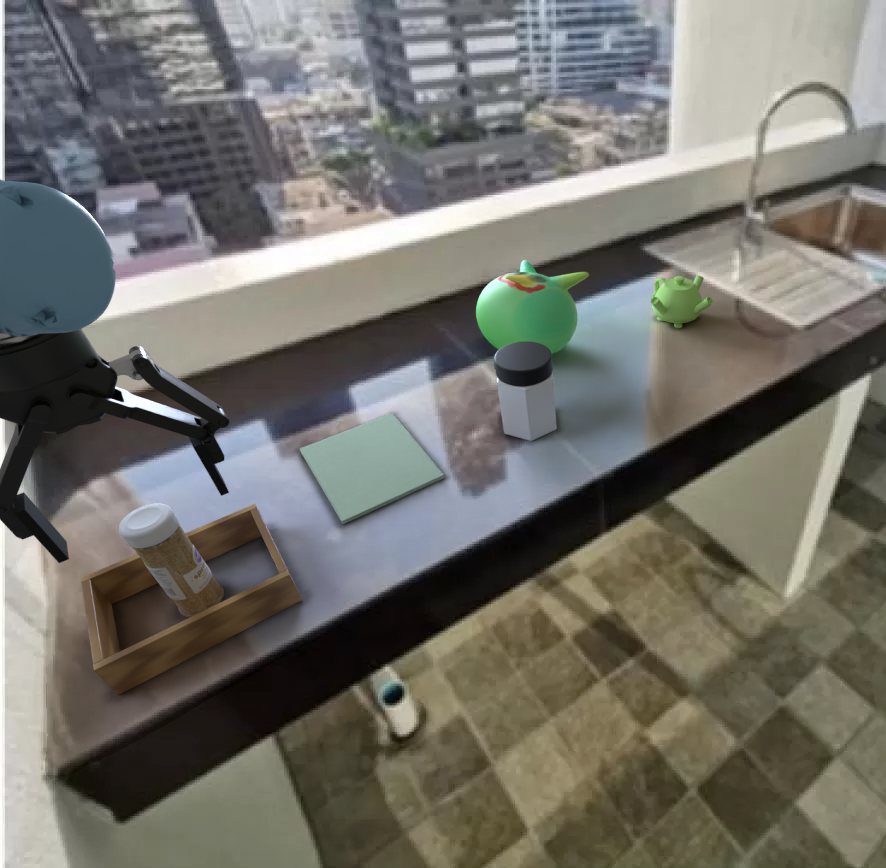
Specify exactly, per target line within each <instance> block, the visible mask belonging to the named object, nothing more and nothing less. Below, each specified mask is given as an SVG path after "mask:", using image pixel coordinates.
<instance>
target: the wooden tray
mask: <svg viewBox="0 0 886 868" xmlns="http://www.w3.org/2000/svg"><path fill="white" fill-rule="evenodd" d="M184 533H185V534H186V535H187V537H188V538H189V540H190V542H191V543H192V544H193V545H194V546H195V548H196V549H197V551H198V552H199V554H200V555H201V557H202V558H203V560H204V561H205V563H206V562H207V561H210V560H212V559H214V558H217V557H219V556H221V555H223V554H226V553H228V552H230V551H233V550H235V549H237V548H239V547H241V546H244V545H246V544H248V543H250V542H252V541H255V540H256V539H258V538H261V537H262V540H263V542H264V544H265V546H266V548H267V550H268V552H269V554H270V557H271V559H272V561H273V563H274V565H275V567H276V569H277V572H278V574H276V575H274V576H272V577H270V578H268V579H266V580H264V581H262V582H260V583H257V584H255V585H253V586H251V587H249V588H247V589H245V590H243V591H241V592H239V593H238V594H235V595H233V596H230V597H229V598H227V599H225V600H222V601H221V602H220V603H219V604H217V605H215V606H212V607H210V608H208V609H206V610H204V611H202V612H200V613H198V614H196V615H194V616H192V617H187V618H186V619H184V620H182V621H180V622H177V623H175V624H174V625H172V626H169V627H167V628H165V629H163V630H161V631H159V632H157V633H155V634H153V635H151V636H149V637H147V638H144V639H142V640H141V641H138V642H136V643H134V644H132V645H131V646H128V647H127V648H125V649H122V650H121V648H120V643H119V638H118V631H117V626H116V621H115V615H114V610H113V604H115V603H117V602H119V601H122V600H124V599H126V598H128V597H130V596H133V595H135V594H137V593H140V592H141V591H144V590H147V589H148V588H150V587H153V586H155V585H157V584H159V583H158V582H157V580H156V579H155V578H154V576H153V575H152V574H151V572H150V571H149V570H148V568H147V567H146V566H145V564H144V562H143V560H142V559H141V558H140V556H139V555H138V554H137V553H136V554H133V555H130V556H128V557H127V558H124V559H121V560H120V561H117V562H115V563H113V564H110V565H108V566H105V567H102V568H101V569H98V570H96V571H94V572H92V573H89V574H86V575H84V576H82V577H80V583H81V590H82V596H83V597H82V598H83V603H84V609H85V610H84V612H85V618H86V625H87V631H88V638H89V645H90V651H91V652H90V654H91V659H92V668H93V671H94V672H95V674H97V676H98V677H100V678H101V679H102V680H103V682H105V684H106V685H108V686H109V688H111V689H112V691H114V692H115V694H117V695H118V696H120V695H121V694H124V693H126V692H127V691H129V690H131V689H134V688H135V687H137V686H139V685H141V684H143V683H145V682H147V681H149V680H151V679H153V678H155V677H156V676H159V675H160V674H162V673H164V672H166V671H169V670H170V669H173V668H174V667H175V666H178V665H180V664H181V663H182V664H183V662H186V661H187V660H189V659H191V658H193V657H195V656H197V655H199V654H201V653H204V652H205V651H207V650H209V649H210V648H211V649H212V648H213V647H215V646H216V645H218V644H221V643H222V642H224V641H226V640H228V639H230V638H232V637H234V636H236V635H238V634H240V633H241V632H244V631H245V630H247V629H249V628H251V627H253V626H255V625H257V624H259V623H262V622H263V621H265V620H267V619H269V618H271V617H272V616H275V615H276V614H278V613H280V612H282V611H284V610H287V609H288V608H290V607H292V606H293V605H295V604H297V603H299V602H301V601H303V597H302V595H301V593H300V591H299V589H298V587H297V585H296V583H295V581H294V578H293V576H292V575H291V573H290V571H289V568H288V566H287V564H286V562H285V560H284V558H283V556H282V554H281V551H280V550H279V548H278V546H277V544H276V542H275V540H274V538H273V536H272V534H271V531H270V530H269V528H268V525H267V524H266V521H265V520H264V518H263V516H262V514H261V512H260V510H259V508H258V506H257V505H256V503H253V504H251V505H249V506H246V507H243V508H241V509H239V510H237V511H234V512H232V513H230V514H227V515H225V516H223V517H220V518H218V519H215V520H213V521H212V522H209V523H206V524H204V525H202V526H200V527H197V528H195V529H192V530H190V531H188V532H184Z"/></svg>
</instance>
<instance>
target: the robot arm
mask: <svg viewBox="0 0 886 868" xmlns="http://www.w3.org/2000/svg"><path fill="white" fill-rule="evenodd" d="M112 252H113V251H112V248H111V245H110V243H109V240H108V238H107V236H106V234H105V232H104V231H103V229H102V228H101V226H100V224H99V223H98V222H97V221H96V219H95V218H94V217H93V216H92V215H91V213H90V212H89V211H88V210H87V209H86V208H85V207H84V206H82V205H81V204H80V203H79V202H78V201H77V200H75V199H74V198H73V197H71V196H69V195H68V194H66V193H63V192H62V191H60V190H58V189H56V188H54V187H51V186H48V185H44V184H41V183H36V182H29V181H16V180H15V181H13V180H4V179H1V178H0V419H2V420H4V421H7V422H10V423H13V424H15V425H14V430H13V434H12V437H11V439H10V442H9V444H8V447H7V449H6V453H5V454H4V457H3V460H2V462H1V465H0V521H1V522H2V523H3V524H4V526H5V527H6V528H7V529H8V530H9V531H10V532H11V533H12V534H13V535H14V536H15V537H16V538H17V539H20V540H25V539H28V538H31V537H35V539H36V540H37V541H38V542H39V543H40V544H41V545H42V547H44V549H46V551H47V552H48V554H50V556H52V558H54V560H55V561H56V562H57V563H58V564H61V563H64V562H66V561H68V560H70V556H69V549H68V541H67V540H66V539H65V538H64V537H63V535H62V534H61V533H60V532H59V531H58V529H56V527H55V526H54V525H53V524H52V523H51V521H49V519H48V518H47V517H46V515H44V513H42V511H41V510H40V509H39V507H37V505H36V504H35V503H34V502H33V501H32V500H31V499H30V497H29V496H28V495H27V493H25V492H21V493H19V491H20V488H21V486H22V483H23V480H24V478H25V475H26V473H27V471H28V468H29V466H30V463H31V460H32V457H33V455H34V453H35V450H36V449H38V446H39V444H40V441H41V439H42V436H43V434H44V433H46V434H56V435H57V436H59V435H61V434H65V433H67V432H70V431H72V430H73V429H74V428H77V427H79V426H87V425H91V424H95V423H97V422H101V421H102V418H103V417H104V416H105V415H106V414H107V415H109V416H113V417H116V418H119V419H123V420H126V419H130V420H134V421H137V422H141V423H144V424H147V425H150V426H153V427H156V428H160V429H163V430H167V431H168V432H169V431H170V432H172V433H175V434H179V435H182V436H186V437H188V439H189V441H190V443H191V446H192V448H193V449H194V451H195V453H196V455H197V457H198V458H199V460H200V462H201V463H202V465H203V467H204V469H205V471H206V472H207V474H208V475H209V477H210V479H211V481H212V482H213V485H214V486H215V488H216V489H217V491H218V493H219V495H220V496H221V497H222V496H225V495H227V494H230V491H229V489H228V486H227V484H226V482H225V479H224V478H223V476H222V474H221V472H220V471H219V468H218V467H217V464H219V463H222V462H225V454H224V452H223V450H222V448H221V446H220V443H219V442H218V441H217V439H216V436H215V434H216V432H217V431H218V430H220V429H224V428H227V427H228V426H229V425H230V419H229V417H228V415H227V413H226V411H225V409H224V408H223V407H222V406H221V405H219V404H218V403H216V402H215V401H213V400H212V399H210V398H209V397H207V396H206V395H204V394H203V393H201V392H199V391H198V390H197V389H195V388H194V387H192V386H191V385H189V384H187V383H185V382H184V381H183V380H181V379H179V378H178V377H176V376H175V375H174V374H172V373H170V372H169V371H167V370H166V369H164V368H162V367H161V366H159V365H158V364H156V362H155V361H154V360H153V358H152V357H151V355H150V354H149V353H148V351H147V350H146V349H145V348H144V347H142V346H140V345H135V346H132V347H130V348H129V350H128V354H125V355H123V356H122V357H118V358H116V359H114V360H111V361H108V360H106V359H104V358H103V357H102V356H100V355H99V353H98V352H97V351H96V350H95V347H94V346H93V345H92V343H91V342H90V340H89V338H88V337H87V335H86V334H85V333H86V332H84V331H83V329H84V328H87V327H89V326H90V325H91V324H92V323H94V322H96V321H97V320H98V319H99V318H100V317H101V316H102V315H103V314H104V313H105V311H106V310H107V309H108V308H109V305H110V304H111V301H112V299H113V295H114V293H115V289H116V279H117V273H116V271H115V269H114V260H113V258H112ZM119 376H127V377H129V378H131V379H132V380H134V381H142V380H144V381H145V382H146V383H147V384H148V385H149V386H150V387H152V388H153V389H155V390H156V391H158V392H159V393H161V394H162V395H164V396H166V397H168V398H169V399H171V400H172V401H174V402H176V403H177V404H179V405H181V406H182V407H184V408H185V409H187V410H188V411H190V412H192V413H194V414H195V415H194V414H192V413H189V412H185V411H183V410H179V409H177V408H173V407H171V406H168V405H165V404H162V403H159V402H156V401H153V400H150V399H147V398H144V397H141V396H138V395H136V394H133V393H131V392H129V391H128V390H127V389H124V388H121V387H118V386H117V382H118V377H119Z"/></svg>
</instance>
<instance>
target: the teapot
mask: <svg viewBox="0 0 886 868" xmlns="http://www.w3.org/2000/svg"><path fill="white" fill-rule="evenodd" d="M703 281H704V277H703V276H701V275H699V274H696V276H695V278H694V280H693V281H692V280H691V279H689V278H685V276H682V275H677V276H674V277H671V278H668V279H666V278H665V277H658V278H656V279H655V281H654V284H653V285H654V293H653V294H652V295H651V296H652V298H651V299H650V303H651V307H652V311H653V313H654V314H655V315H656V316H657V317H656V320H658V321H660V322H663V321H664V322H667V323H670V324H673V327H674V328H676V329H680V328H683V325H684V324H686V323H687V324H688V323H690V322H692V321H695V320H696V319H697V318H698V317H699V316H700V315H701V314H702V312H703V311H704V310H706V309H708V308H709V307H710V306H712V305H713V304H714V299H713V298H712V297H710V296H707V297H705V298H704V299H703V298H702V295H701V293H700V289H701V286H702V285H703ZM660 283H662V284H661V285H660Z"/></svg>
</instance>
